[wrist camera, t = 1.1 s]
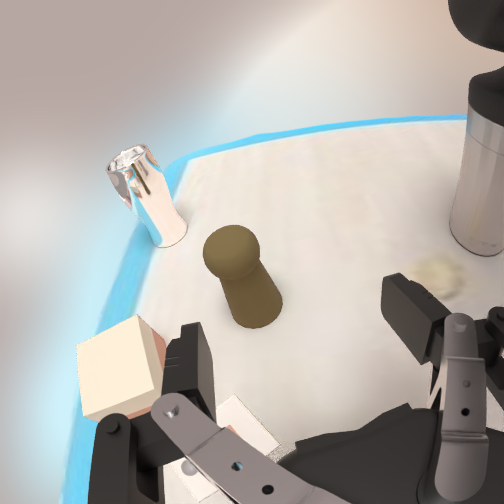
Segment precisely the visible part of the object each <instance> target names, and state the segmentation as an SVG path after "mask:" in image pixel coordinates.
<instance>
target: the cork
mask: <svg viewBox="0 0 504 504" xmlns="http://www.w3.org/2000/svg"><path fill="white" fill-rule="evenodd" d="M203 258H204V262H205V265H206V266H207V268H208V269H209V270H210V271H211V273H212V274H214V275H215V276H216V277H218V278H219V279H220V282H221V284H222V287H223V290H224V293H225V296H226V299H227V302H228V304H229V307H230V310H231V313H232V316H233V318H234V320H235V321H236V322H237V323H238V324H239V325H241V326H243V327H245V328H252V329H254V328H261V327H264V326H266V325H268V324H270V323H271V322H272V321H274V320H275V319H276V318H277V316H278V315H279V313H280V312H281V309H282V305H283V303H282V296H281V294H280V292H279V291H278V289H277V287H276V286H275V284H274V282H273V281H272V279H271V278H270V276H269V274H268V273H267V271H266V269H265V268H264V266H263V265H262V263H261V261H260V260H259V258H260V246H259V243H258V240H257V238H256V236H255V235H254V234H253V233H252V232H251V231H250V230H249V229H247V228H245V227H243V226H239V225H229V226H224V227H222V228H220V229H218V230H216V231H215V232H213V233H212V234H211V235H210V236H209V237H208V238H207V240H206V242H205V244H204V248H203Z"/></svg>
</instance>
